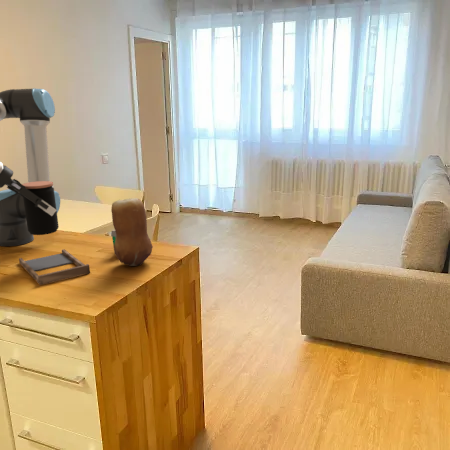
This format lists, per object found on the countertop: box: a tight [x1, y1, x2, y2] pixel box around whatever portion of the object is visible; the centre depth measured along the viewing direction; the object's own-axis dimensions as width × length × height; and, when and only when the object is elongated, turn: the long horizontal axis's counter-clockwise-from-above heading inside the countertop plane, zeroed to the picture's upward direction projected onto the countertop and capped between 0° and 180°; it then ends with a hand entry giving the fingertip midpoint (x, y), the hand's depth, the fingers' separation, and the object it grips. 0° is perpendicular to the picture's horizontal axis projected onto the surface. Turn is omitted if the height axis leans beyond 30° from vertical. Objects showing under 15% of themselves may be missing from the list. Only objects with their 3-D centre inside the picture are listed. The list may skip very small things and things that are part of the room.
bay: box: [18, 249, 91, 286], centre depth 162 cm, size 28×17×3 cm, turn 37°
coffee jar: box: [21, 180, 59, 236], centre depth 163 cm, size 11×11×18 cm
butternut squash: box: [110, 197, 154, 267], centre depth 160 cm, size 14×13×25 cm
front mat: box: [24, 252, 74, 272], centre depth 168 cm, size 13×15×1 cm
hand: (49, 210), depth 165 cm, fingers closed on coffee jar, 11 cm apart
